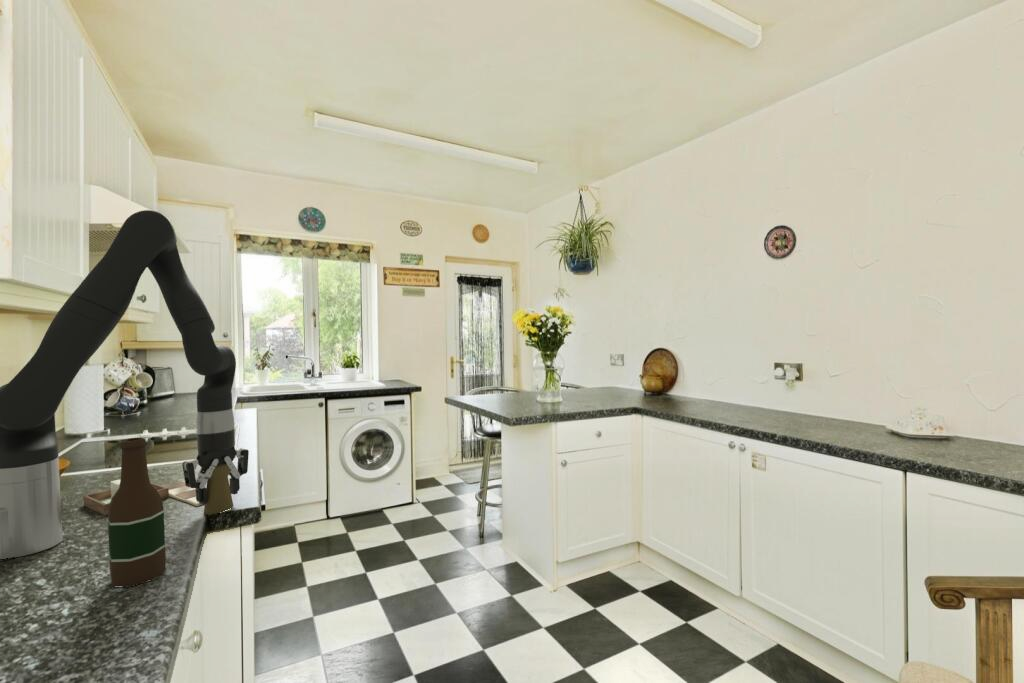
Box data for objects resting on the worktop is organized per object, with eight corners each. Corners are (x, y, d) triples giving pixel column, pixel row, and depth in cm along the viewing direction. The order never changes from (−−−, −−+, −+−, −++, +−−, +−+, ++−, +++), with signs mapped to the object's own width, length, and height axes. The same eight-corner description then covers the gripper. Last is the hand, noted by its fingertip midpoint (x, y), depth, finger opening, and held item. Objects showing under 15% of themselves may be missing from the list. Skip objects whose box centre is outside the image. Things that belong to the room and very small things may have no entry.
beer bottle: (101, 593, 75) (94, 447, 74) (119, 571, 82) (113, 437, 81) (159, 582, 78) (153, 441, 77) (172, 561, 85) (167, 432, 84)
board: (197, 506, 112) (197, 503, 112) (152, 490, 125) (152, 487, 125) (227, 497, 118) (227, 494, 118) (181, 482, 131) (181, 480, 131)
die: (118, 505, 113) (117, 484, 113) (111, 501, 116) (110, 481, 116) (143, 498, 118) (143, 478, 117) (136, 494, 120) (135, 475, 120)
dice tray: (104, 515, 108) (104, 505, 108) (83, 505, 115) (83, 495, 114) (168, 497, 119) (168, 488, 119) (146, 489, 126) (146, 480, 126)
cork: (209, 516, 106) (207, 469, 105) (199, 511, 109) (197, 465, 109) (238, 508, 111) (236, 462, 110) (227, 503, 114) (225, 459, 114)
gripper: (238, 421, 118) (240, 486, 118) (173, 433, 105) (176, 505, 106) (254, 424, 114) (257, 491, 114) (190, 436, 101) (193, 512, 102)
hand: (218, 498), depth 110 cm, fingers open, 6 cm apart
